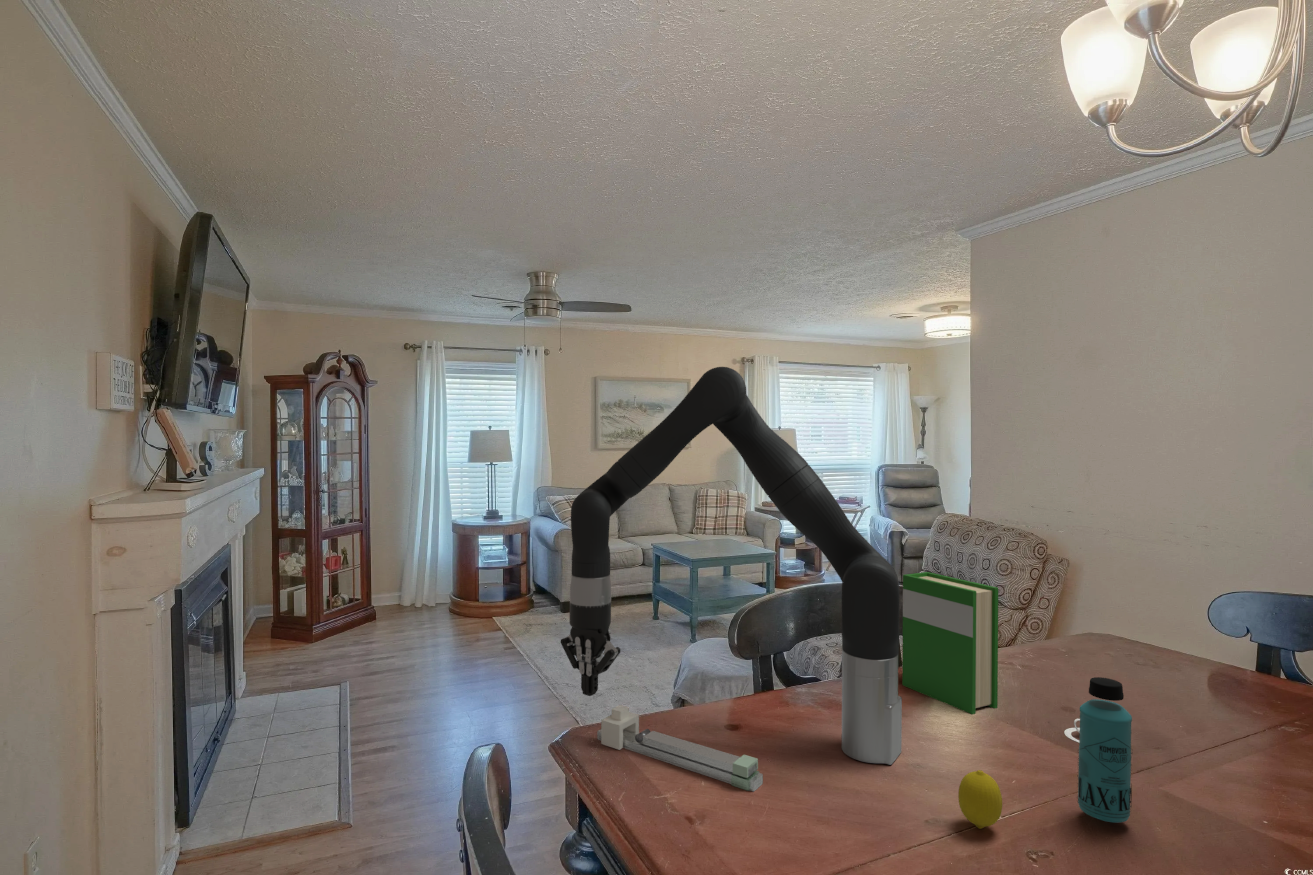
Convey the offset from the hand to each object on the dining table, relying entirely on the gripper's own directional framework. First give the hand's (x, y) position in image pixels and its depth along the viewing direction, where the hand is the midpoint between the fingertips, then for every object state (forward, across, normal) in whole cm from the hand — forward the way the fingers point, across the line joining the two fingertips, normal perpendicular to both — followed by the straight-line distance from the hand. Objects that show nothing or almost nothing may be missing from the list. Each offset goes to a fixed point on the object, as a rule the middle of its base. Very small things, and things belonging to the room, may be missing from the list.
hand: (589, 693), depth 127 cm
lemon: (+6, -64, -8) cm, 65 cm away
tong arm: (+5, -23, 0) cm, 24 cm away
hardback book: (+6, -49, -57) cm, 76 cm away
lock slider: (+7, -7, 0) cm, 10 cm away
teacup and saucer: (+7, -78, -50) cm, 92 cm away
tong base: (+7, -19, 0) cm, 20 cm away
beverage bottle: (+6, -78, -20) cm, 81 cm away
